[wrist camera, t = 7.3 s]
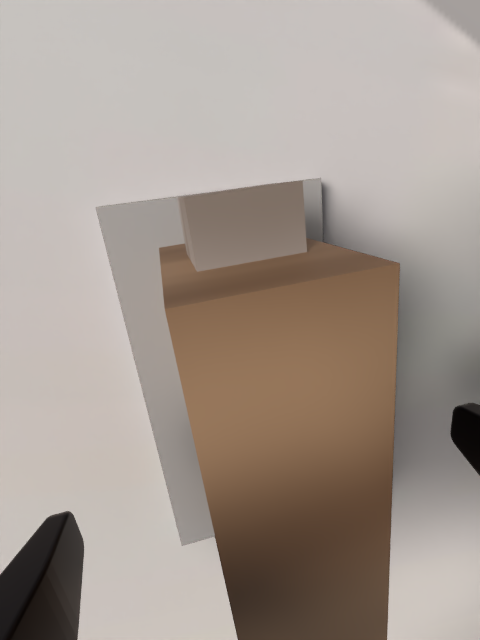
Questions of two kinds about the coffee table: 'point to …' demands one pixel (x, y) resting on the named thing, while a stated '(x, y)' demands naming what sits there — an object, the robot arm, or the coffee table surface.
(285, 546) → the brown rectangular block
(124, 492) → the coffee table surface
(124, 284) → the pad
